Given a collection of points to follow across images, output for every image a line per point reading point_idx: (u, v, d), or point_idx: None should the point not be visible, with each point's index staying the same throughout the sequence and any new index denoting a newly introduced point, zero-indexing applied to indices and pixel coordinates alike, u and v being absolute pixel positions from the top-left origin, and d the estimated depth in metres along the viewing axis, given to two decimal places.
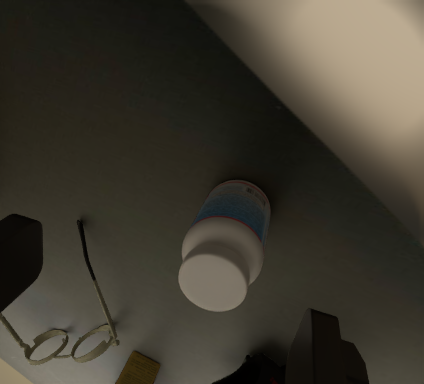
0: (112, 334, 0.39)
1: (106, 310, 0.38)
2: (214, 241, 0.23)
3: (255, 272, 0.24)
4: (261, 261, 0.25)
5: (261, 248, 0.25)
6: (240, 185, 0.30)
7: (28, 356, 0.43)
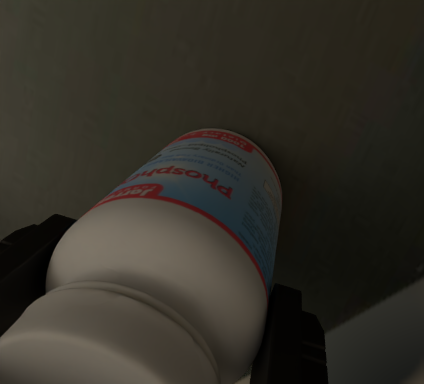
0: None
1: None
2: (215, 354, 0.08)
3: None
4: None
5: None
6: None
7: None
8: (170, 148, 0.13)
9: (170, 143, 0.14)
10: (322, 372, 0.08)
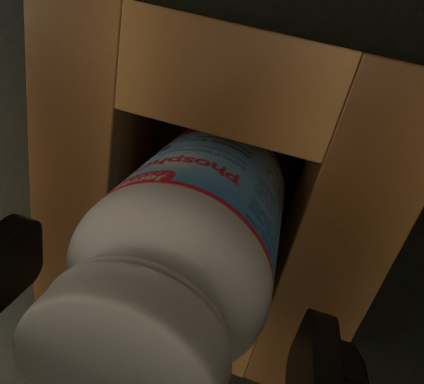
0: None
1: None
2: (226, 325, 0.08)
3: None
4: None
5: None
6: None
7: None
8: (179, 140, 0.13)
9: (178, 136, 0.15)
10: None
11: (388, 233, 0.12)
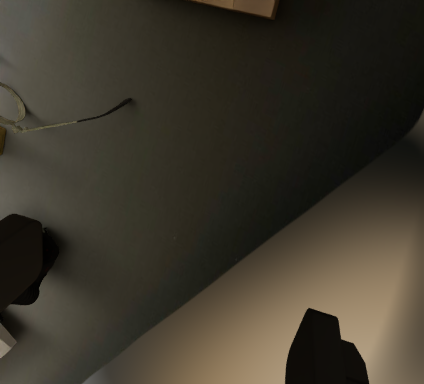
0: (25, 130, 0.41)
1: (48, 127, 0.41)
2: None
3: None
4: None
5: None
6: None
7: None
8: None
9: None
10: None
11: None
